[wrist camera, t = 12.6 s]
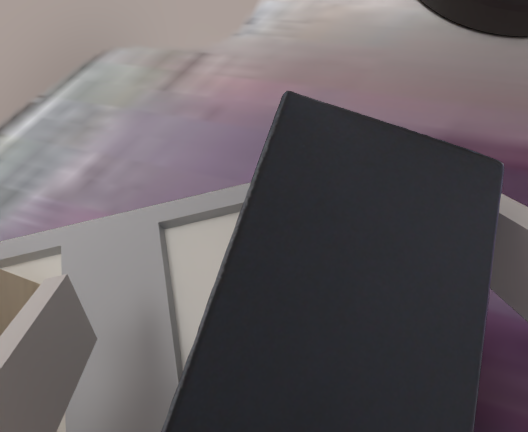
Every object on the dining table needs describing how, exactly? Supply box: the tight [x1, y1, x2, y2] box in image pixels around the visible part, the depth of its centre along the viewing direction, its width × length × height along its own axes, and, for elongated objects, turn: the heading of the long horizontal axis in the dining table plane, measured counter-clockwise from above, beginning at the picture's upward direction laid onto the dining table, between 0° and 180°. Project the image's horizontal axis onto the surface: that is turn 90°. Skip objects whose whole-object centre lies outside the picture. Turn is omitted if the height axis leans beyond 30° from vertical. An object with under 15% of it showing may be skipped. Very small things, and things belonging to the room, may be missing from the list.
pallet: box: [0, 183, 251, 432], centre depth 19 cm, size 27×16×2 cm, turn 102°
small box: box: [161, 91, 504, 432], centre depth 14 cm, size 11×6×10 cm, turn 163°
